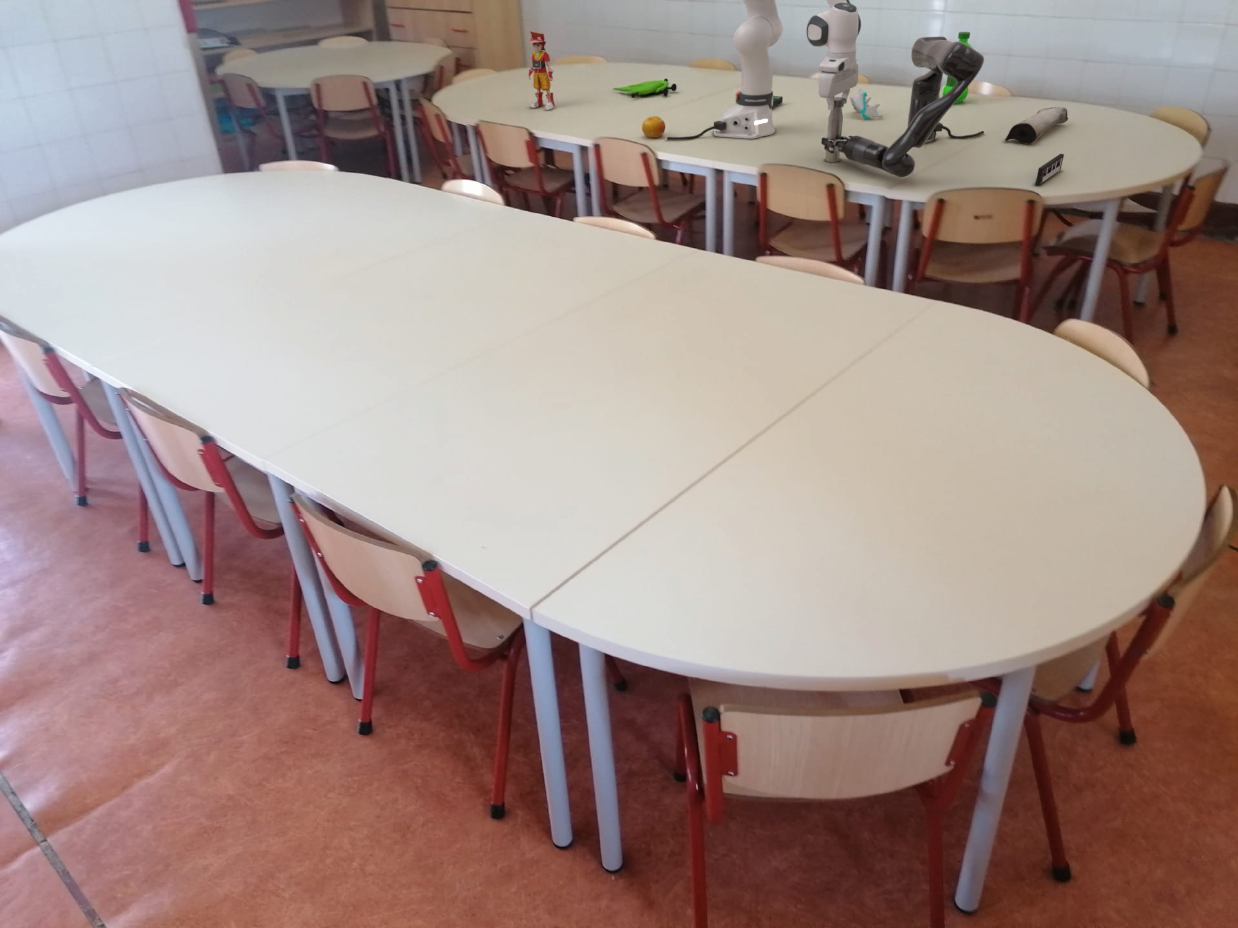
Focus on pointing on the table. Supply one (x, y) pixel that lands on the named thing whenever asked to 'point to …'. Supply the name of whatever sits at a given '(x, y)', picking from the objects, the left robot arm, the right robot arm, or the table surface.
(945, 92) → the plastic bottle
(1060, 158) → the midi keyboard
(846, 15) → the left robot arm
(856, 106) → the anatomical model
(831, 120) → the bottle
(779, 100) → the disk drive
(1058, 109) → the rolled mat
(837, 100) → the cap
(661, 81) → the toy
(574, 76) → the table surface
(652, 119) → the fruit
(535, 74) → the toy
